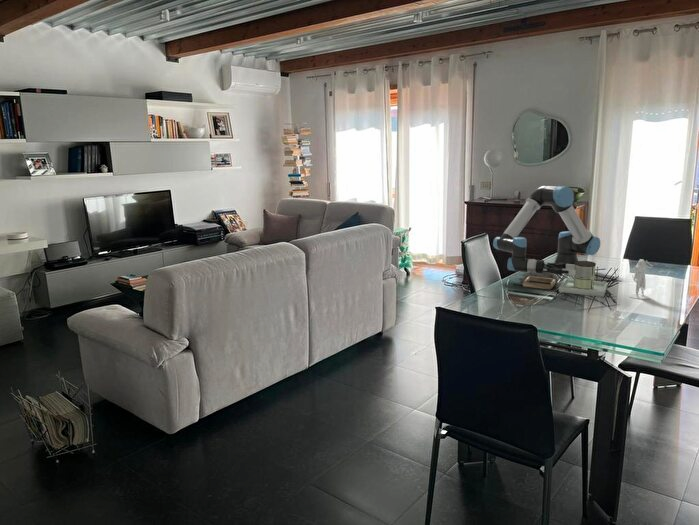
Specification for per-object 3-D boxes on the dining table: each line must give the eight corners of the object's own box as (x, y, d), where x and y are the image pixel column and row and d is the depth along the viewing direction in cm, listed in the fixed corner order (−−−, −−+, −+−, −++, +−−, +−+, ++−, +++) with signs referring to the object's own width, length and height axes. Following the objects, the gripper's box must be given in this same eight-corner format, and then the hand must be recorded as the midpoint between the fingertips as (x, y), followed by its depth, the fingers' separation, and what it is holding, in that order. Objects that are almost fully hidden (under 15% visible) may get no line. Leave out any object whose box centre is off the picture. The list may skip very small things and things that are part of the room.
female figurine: (621, 299, 267) (625, 261, 263) (628, 292, 279) (632, 255, 275) (645, 303, 261) (649, 264, 256) (652, 296, 273) (656, 258, 268)
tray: (564, 282, 302) (565, 278, 302) (607, 286, 292) (607, 282, 291) (558, 291, 284) (559, 287, 283) (603, 296, 273) (604, 292, 272)
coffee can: (570, 285, 293) (572, 260, 290) (589, 285, 292) (592, 260, 289) (576, 290, 283) (578, 264, 280) (596, 290, 282) (598, 264, 279)
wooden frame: (528, 280, 309) (528, 276, 308) (555, 283, 301) (555, 278, 301) (522, 286, 296) (523, 282, 295) (550, 289, 289) (551, 285, 288)
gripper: (539, 268, 309) (579, 271, 298) (531, 277, 287) (573, 281, 277) (540, 255, 307) (580, 258, 297) (532, 264, 286) (574, 267, 276)
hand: (577, 269), depth 287 cm, fingers open, 13 cm apart
